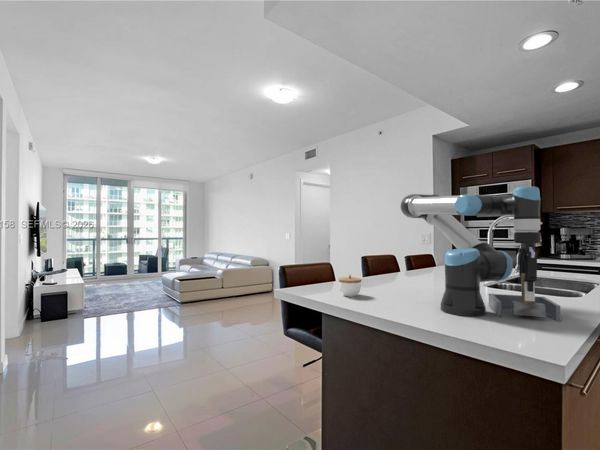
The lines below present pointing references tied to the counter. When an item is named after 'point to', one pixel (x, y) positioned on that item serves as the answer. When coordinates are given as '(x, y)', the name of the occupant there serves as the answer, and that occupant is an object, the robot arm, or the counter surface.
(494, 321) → the counter surface
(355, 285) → the lidded jar
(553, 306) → the box
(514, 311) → the scraper
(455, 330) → the counter surface
